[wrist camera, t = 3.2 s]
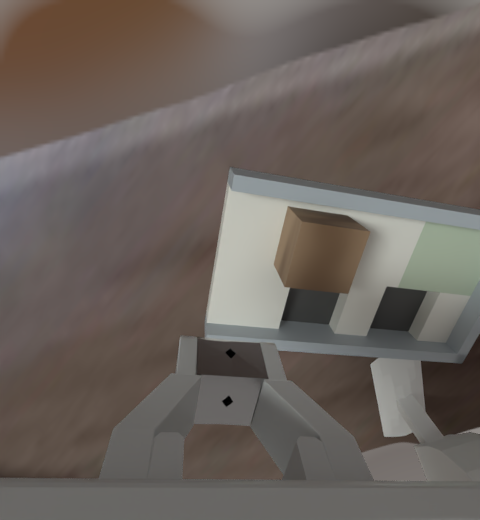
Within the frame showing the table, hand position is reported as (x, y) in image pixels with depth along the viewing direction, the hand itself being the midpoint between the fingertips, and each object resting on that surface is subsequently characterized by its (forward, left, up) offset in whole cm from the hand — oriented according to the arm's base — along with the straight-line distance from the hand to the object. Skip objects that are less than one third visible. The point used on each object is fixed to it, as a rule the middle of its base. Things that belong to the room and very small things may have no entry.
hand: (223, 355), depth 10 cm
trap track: (+2, -12, -15) cm, 19 cm away
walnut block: (+3, -7, -13) cm, 15 cm away
